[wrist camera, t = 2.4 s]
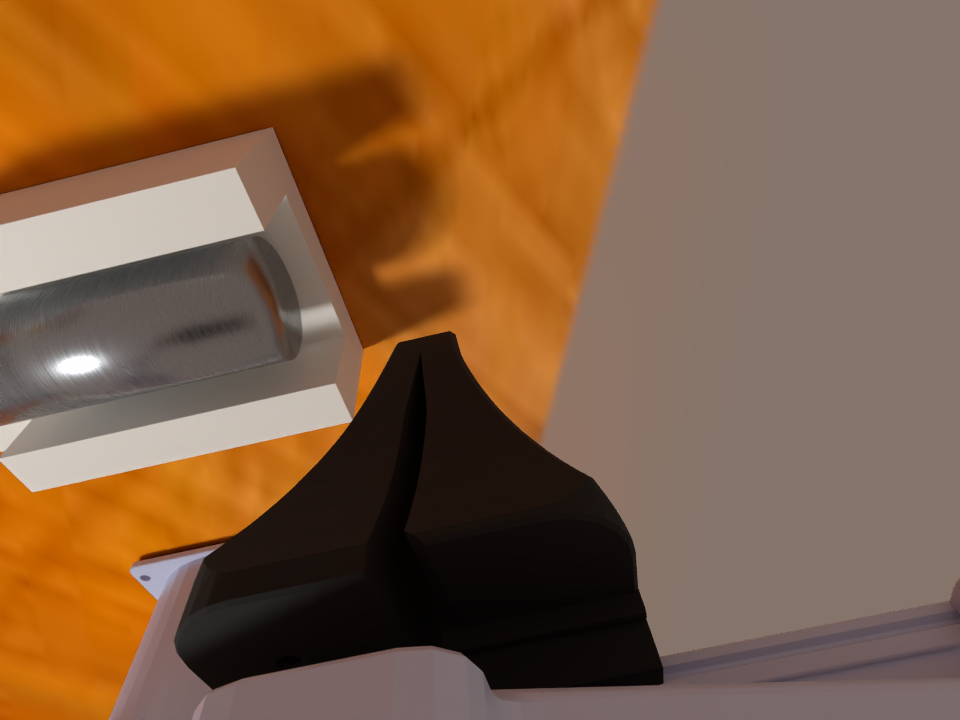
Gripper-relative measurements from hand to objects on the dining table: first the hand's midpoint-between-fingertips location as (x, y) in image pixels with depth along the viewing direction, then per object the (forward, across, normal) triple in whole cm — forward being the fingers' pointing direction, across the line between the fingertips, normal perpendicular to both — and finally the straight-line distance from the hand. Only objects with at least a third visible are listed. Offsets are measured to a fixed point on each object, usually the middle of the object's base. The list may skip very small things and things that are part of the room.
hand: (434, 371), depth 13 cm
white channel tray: (+9, +14, 0) cm, 17 cm away
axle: (+5, +10, 0) cm, 11 cm away
